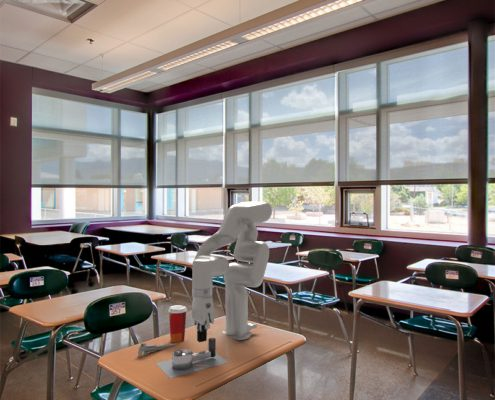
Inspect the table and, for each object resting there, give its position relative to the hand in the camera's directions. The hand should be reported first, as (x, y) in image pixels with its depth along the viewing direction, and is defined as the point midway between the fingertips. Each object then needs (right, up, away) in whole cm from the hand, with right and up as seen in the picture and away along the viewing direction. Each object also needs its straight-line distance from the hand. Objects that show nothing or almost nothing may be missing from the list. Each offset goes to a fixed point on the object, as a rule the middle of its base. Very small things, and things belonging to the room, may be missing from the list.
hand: (201, 340), depth 140 cm
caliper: (-16, -7, +4) cm, 17 cm away
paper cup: (-12, -6, +16) cm, 21 cm away
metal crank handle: (-2, -4, -8) cm, 9 cm away
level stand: (-2, -6, -8) cm, 11 cm away
